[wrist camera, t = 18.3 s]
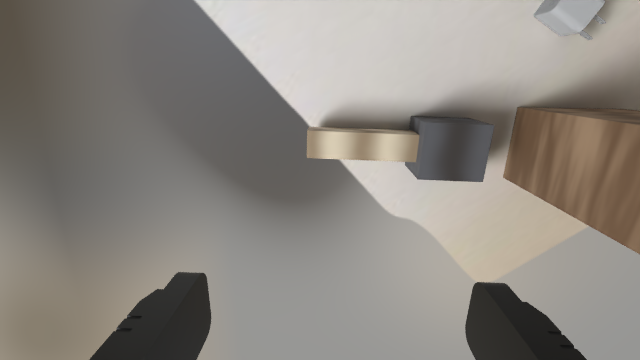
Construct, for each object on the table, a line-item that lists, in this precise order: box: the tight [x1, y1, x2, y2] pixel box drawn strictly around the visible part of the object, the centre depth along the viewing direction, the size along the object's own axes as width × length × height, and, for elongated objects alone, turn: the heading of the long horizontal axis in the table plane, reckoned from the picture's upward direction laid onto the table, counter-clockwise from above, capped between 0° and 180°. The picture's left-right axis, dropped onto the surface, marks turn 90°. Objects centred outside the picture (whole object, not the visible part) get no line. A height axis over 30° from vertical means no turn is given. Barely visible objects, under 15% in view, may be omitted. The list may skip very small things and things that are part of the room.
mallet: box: [307, 116, 494, 182], centre depth 41 cm, size 22×7×7 cm, turn 88°
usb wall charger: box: [534, 0, 606, 40], centre depth 37 cm, size 4×7×4 cm, turn 59°
